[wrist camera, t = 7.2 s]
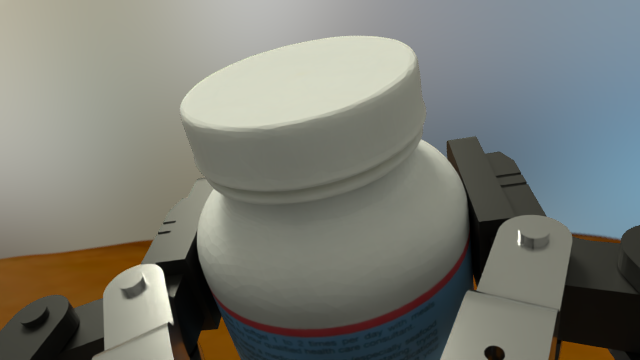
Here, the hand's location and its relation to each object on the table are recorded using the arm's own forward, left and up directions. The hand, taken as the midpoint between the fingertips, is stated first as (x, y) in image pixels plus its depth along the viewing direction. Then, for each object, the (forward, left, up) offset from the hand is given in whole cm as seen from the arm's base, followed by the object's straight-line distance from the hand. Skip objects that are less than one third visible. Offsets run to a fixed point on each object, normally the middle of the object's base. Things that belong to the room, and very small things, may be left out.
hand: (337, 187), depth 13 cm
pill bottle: (+1, -2, -7) cm, 8 cm away
